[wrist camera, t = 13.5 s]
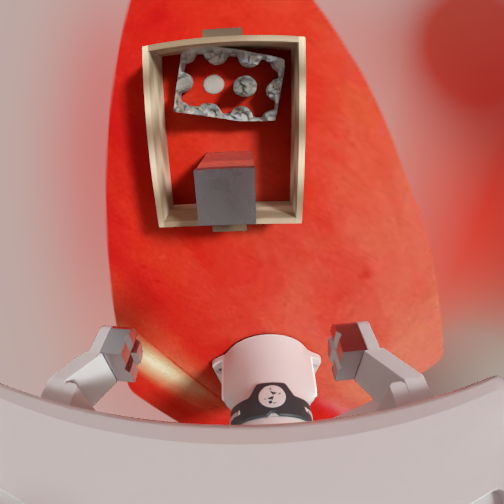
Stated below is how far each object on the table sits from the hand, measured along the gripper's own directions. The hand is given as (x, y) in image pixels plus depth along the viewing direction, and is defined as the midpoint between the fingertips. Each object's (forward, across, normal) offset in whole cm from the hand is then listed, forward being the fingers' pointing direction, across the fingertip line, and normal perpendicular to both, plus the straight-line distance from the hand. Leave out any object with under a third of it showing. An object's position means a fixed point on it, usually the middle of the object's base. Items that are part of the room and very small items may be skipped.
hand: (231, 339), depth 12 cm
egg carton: (+25, +1, -11) cm, 27 cm away
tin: (+25, +1, 0) cm, 25 cm away
